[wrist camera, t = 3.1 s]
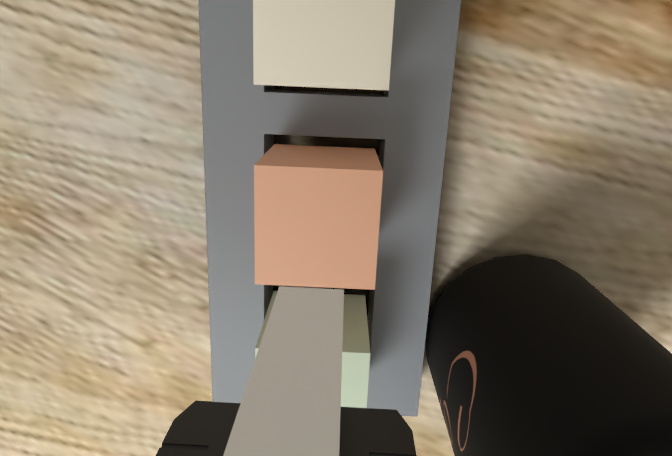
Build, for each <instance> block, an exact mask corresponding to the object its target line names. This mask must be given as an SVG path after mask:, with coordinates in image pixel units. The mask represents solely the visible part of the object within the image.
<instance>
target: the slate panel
mask: <svg viewBox="0 0 672 456" xmlns="http://www.w3.org/2000/svg"><path fill="white" fill-rule="evenodd" d="M460 7H461V0H395V9H394V24H393V38H392V52H391V67H390V81H389V91H388V90H383V94H362V93H339V92H316V91H293V90H274V86H273V85H254V82H253V0H199V27H200V56H201V84H202V112H203V141H204V169H205V198H206V226H207V255H208V283H209V311H210V340H211V368H212V397H213V402H226V403H241V400H242V397H243V394H244V391H245V388H246V385H247V382H248V379H249V376H250V373H251V370H252V367H253V364H254V361H255V347H256V344H257V341H258V338H259V335H260V332H261V328H262V325H263V322H264V319H265V316H266V313H267V310H268V307H269V304H270V301H271V298H272V294H273V285H258V284H255V247H254V165H255V164H256V163H257V162H258V161H259V159H260V158H261V157H262V156H263V155H264V154H265V153H266V152H267V151H268V150H269V149H270V148H271V147H272V146H273V134H276V135H298V136H321V137H344V138H367V139H380V148H379V161H380V164H381V167H382V169H383V181H382V195H381V209H380V224H379V238H378V252H377V267H376V281H375V290H370V297H369V312H368V333H369V343H370V367H369V381H368V395H367V408H374V409H392V410H397V411H398V412H399V414H400V415H401V416H417V415H418V406H419V396H420V387H421V377H422V368H423V358H424V349H425V339H426V330H427V320H428V311H429V301H430V292H431V282H432V273H433V263H434V254H435V244H436V235H437V225H438V216H439V206H440V197H441V187H442V178H443V168H444V159H445V150H446V140H447V131H448V121H449V112H450V102H451V93H452V83H453V74H454V64H455V55H456V45H457V36H458V26H459V17H460Z"/></svg>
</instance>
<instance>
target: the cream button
mask: <svg viewBox="0 0 672 456" xmlns="http://www.w3.org/2000/svg"><path fill="white" fill-rule="evenodd" d="M394 9H395V0H253V82H254V85H273V86H296V87H319V88H342V89H365V90H388V91H389V81H390V67H391V52H392V38H393V24H394Z"/></svg>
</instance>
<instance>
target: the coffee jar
mask: <svg viewBox="0 0 672 456" xmlns="http://www.w3.org/2000/svg"><path fill="white" fill-rule="evenodd" d="M425 342H426V357H427V361H428V364H429V368H430V371H431V375H432V378H433V382H434V385H435V389H436V392H437V396H438V399H439V402H440V406H441V409H442V413H443V416H444V420H445V423H446V427H447V430H448V434H449V437H450V441H451V444H452V448H453V451H454V454H455V456H672V354H671V353H670V352H669V351H668V350H667V349H666V348H664V347H663V346H662V345H661V344H660V343H659V342H657V341H656V340H655V339H654V338H653V337H652V336H650V335H649V334H648V333H647V332H646V331H645V330H643V329H642V328H641V327H640V326H639V325H638V324H637V323H635V322H634V321H633V320H632V319H631V318H630V317H628V316H627V315H626V314H625V313H624V312H623V311H621V310H620V309H619V308H618V307H617V306H616V305H614V304H613V303H612V302H611V301H610V300H609V299H607V298H606V297H605V296H604V295H603V294H602V293H600V292H599V291H598V290H597V289H596V288H595V287H594V286H592V285H591V284H590V283H589V282H588V281H587V280H585V279H584V278H583V277H582V276H581V275H580V274H578V273H577V272H575V271H573V270H571V269H570V268H568V267H566V266H564V265H563V264H561V263H559V262H557V261H556V260H552V259H547V258H542V257H537V256H532V255H516V256H506V257H496V258H493V259H491V260H488V261H486V262H483V263H481V264H478V265H476V266H474V267H471V268H469V269H468V270H467V271H465V272H464V273H463V274H461V275H460V276H459V277H458V278H456V279H455V280H454V281H453V282H451V283H450V284H449V285H448V286H447V287H446V289H445V290H444V292H443V293H442V295H441V296H440V298H439V299H438V301H437V302H436V303H435V305H434V306H433V308H432V310H431V314H430V317H429V321H428V324H427V330H426V339H425Z"/></svg>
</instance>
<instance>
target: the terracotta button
mask: <svg viewBox="0 0 672 456" xmlns="http://www.w3.org/2000/svg"><path fill="white" fill-rule="evenodd" d="M382 181H383V169H382V167H381V164H380V161H379V159H378V156H377V154H376V151H375V149H374V148H353V147H330V146H307V145H285V144H274V145H273V146H272V147H271V148H270V149H269V150H268V151H267V152H266V153H265V154H264V155H263V156H262V157H261V158H260V159H259V161H258V162H257V163H256V164H255V165H254V247H255V284H258V285H281V286H303V287H325V288H347V289H370V290H375V281H376V267H377V252H378V238H379V224H380V209H381V195H382Z"/></svg>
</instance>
